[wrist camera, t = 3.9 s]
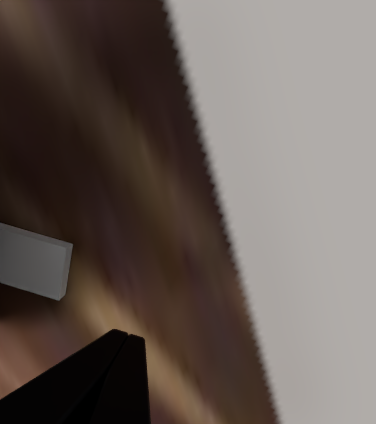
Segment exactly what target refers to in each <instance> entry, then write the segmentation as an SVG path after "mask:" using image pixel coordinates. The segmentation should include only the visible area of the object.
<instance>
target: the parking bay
mask: <svg viewBox="0 0 376 424" xmlns="http://www.w3.org/2000/svg"><path fill="white" fill-rule="evenodd" d="M72 248H73V244H71V243H68V242H65V241H61V240H58V239H54V238H51V237H48V236H44V235H41V234H37V233H34V232H31V231H27V230H24V229H20V228H17V227H13V226H10V225H7V224H3V223H0V283H3V284H6V285H9V286H13V287H16V288H19V289H22V290H26V291H29V292H32V293H35V294H39V295H42V296H45V297H48V298H52V299H55V300H58V301H59V300H60V299H61V298H62V297H63V296H64V295H65V294H66V287H67V280H68V274H69V267H70V261H71V254H72Z"/></svg>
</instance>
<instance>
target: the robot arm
mask: <svg viewBox="0 0 376 424" xmlns="http://www.w3.org/2000/svg"><path fill="white" fill-rule="evenodd" d="M0 424H151V418H150V404H149V390H148V376H147V362H146V348H145V339H144V338H143V337H140V336H137V335H133V334H130V335H129V336H128V333H127V332H124V331H121V330H117V329H112V330H110V331H109V332H107V333H106V334H104V335H102V336H101V337H99V338H98V339H96V340H95V341H93V342H91V343H90V344H88V345H87V346H85V347H83V348H82V349H80V350H79V351H77V352H75V353H74V354H72V355H71V356H69V357H67V358H66V359H64V360H63V361H61V362H59V363H58V364H56V365H55V366H53V367H51V368H50V369H48V370H47V371H45V372H44V373H42V374H40V375H39V376H37V377H36V378H34V379H32V380H31V381H29V382H28V383H26V384H24V385H23V386H21V387H20V388H18V389H16V390H15V391H13V392H12V393H10V394H8V395H7V396H5V397H4V398H2V399H0Z"/></svg>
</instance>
